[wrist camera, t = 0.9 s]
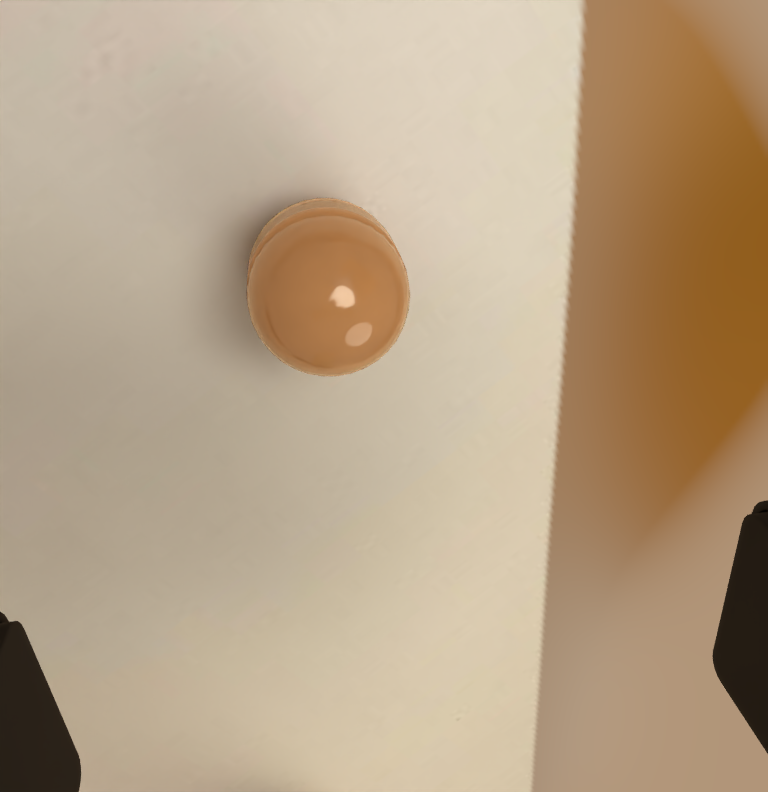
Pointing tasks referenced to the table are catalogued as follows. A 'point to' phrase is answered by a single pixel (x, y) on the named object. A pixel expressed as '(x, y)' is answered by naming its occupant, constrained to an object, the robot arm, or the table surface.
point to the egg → (327, 287)
